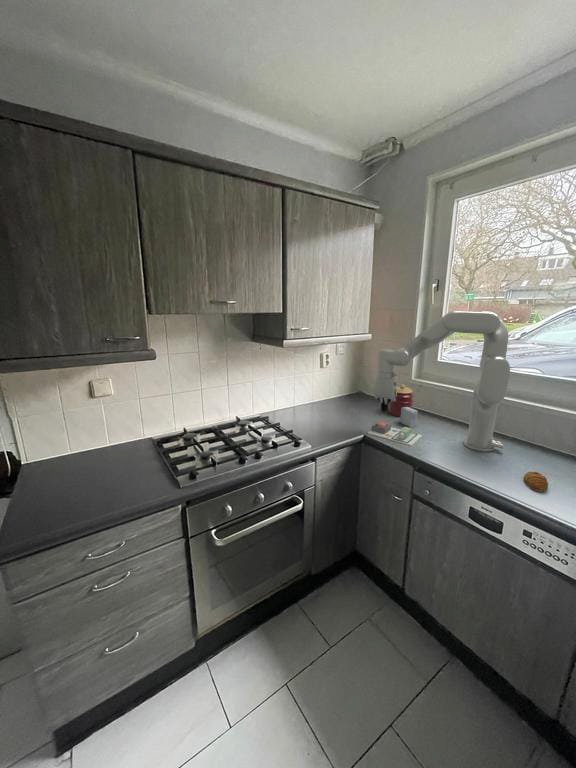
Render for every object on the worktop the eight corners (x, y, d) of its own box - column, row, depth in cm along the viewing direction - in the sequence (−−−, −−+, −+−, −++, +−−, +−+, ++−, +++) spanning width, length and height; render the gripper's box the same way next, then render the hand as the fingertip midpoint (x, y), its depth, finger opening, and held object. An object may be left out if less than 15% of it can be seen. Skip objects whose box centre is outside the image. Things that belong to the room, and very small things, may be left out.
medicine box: (416, 426, 167) (418, 411, 164) (410, 427, 165) (411, 412, 163) (406, 421, 174) (407, 406, 172) (399, 422, 172) (401, 407, 170)
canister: (383, 411, 189) (386, 383, 185) (400, 408, 194) (402, 380, 190) (399, 418, 178) (402, 388, 173) (416, 415, 183) (419, 385, 178)
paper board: (422, 436, 154) (422, 429, 154) (411, 446, 144) (412, 439, 143) (379, 425, 168) (380, 419, 167) (367, 433, 158) (367, 427, 157)
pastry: (551, 495, 108) (553, 485, 107) (527, 491, 110) (529, 481, 109) (543, 481, 116) (545, 472, 115) (521, 477, 119) (523, 468, 118)
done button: (387, 429, 161) (387, 423, 160) (383, 431, 157) (383, 426, 157) (379, 426, 163) (379, 421, 163) (375, 429, 160) (375, 424, 159)
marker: (411, 434, 155) (412, 427, 154) (404, 440, 148) (404, 433, 147) (404, 432, 158) (405, 426, 157) (397, 438, 150) (397, 431, 150)
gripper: (403, 375, 151) (402, 411, 155) (374, 372, 161) (373, 406, 165) (397, 378, 146) (395, 416, 150) (367, 374, 155) (367, 410, 160)
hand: (384, 410), depth 158 cm, fingers closed
